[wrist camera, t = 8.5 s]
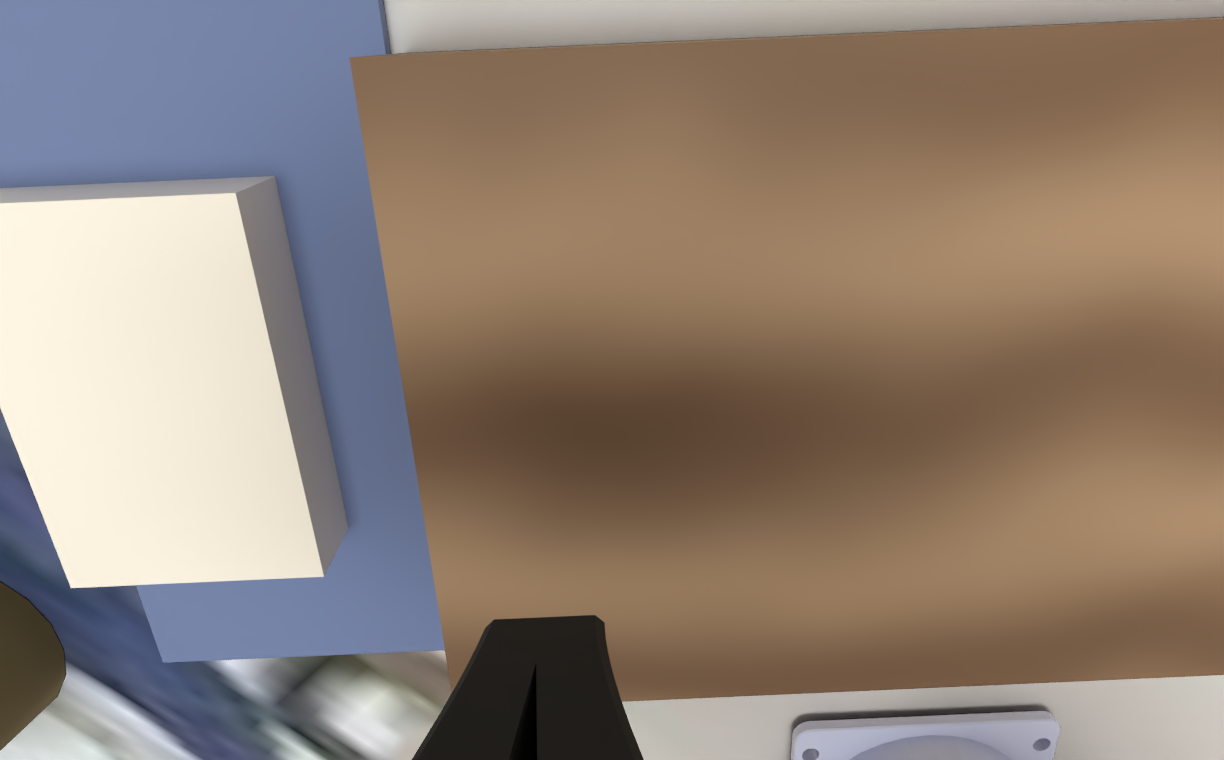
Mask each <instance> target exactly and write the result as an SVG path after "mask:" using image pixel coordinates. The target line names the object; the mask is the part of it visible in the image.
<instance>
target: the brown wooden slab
mask: <svg viewBox="0 0 1224 760" xmlns="http://www.w3.org/2000/svg"><path fill="white" fill-rule="evenodd" d="M349 58H350V65H351V71H352V77H353V83H354V89H355V96H356V102H357V108H358V114H359V120H360V127H361V133H362V139H363V145H364V151H365V158H366V164H367V170H368V176H369V182H370V189H371V195H372V201H373V207H374V213H375V219H376V226H377V232H378V238H379V244H380V250H381V257H382V263H383V269H384V275H385V281H386V288H387V294H388V300H389V306H390V312H391V319H392V325H393V331H394V337H395V343H396V349H397V356H398V362H399V368H400V374H401V380H402V387H403V393H404V399H405V405H406V411H407V418H408V424H409V430H410V436H411V442H412V449H413V455H414V461H415V467H416V473H417V480H418V486H419V492H420V498H421V504H422V510H423V517H424V523H425V529H426V535H427V541H428V548H429V554H430V560H431V566H432V572H433V579H434V585H435V591H436V597H437V603H438V610H439V616H440V622H441V628H442V634H443V640H444V647H445V653H446V659H447V665H448V671H449V678H450V684H451V690H452V692H453V690H454V688H455V686H456V685H457V683H458V681H459V679H460V677H461V676H462V674H463V672H464V670H465V668H466V666H467V664H468V662H469V660H470V658H471V656H472V654H473V652H474V650H475V648H476V646H477V644H478V642H479V640H480V638H481V636H482V634H483V632H484V629H485V627H486V626H488V625H489V624H490V623H491V622H492V621H493V620H494V619H516V618H538V617H560V616H582V615H596V616H597V617H598V618H600V619H601V620H602V621H603V622H605V637H606V643H607V649H608V654H609V659H610V663H611V667H612V671H613V675H614V678H615V682H616V685H617V688H618V691H619V695H620V698H621V701H644V700H666V699H689V698H711V697H734V696H757V695H779V694H802V693H824V692H847V691H869V690H892V689H914V688H937V687H959V686H982V685H1004V684H1027V683H1049V682H1072V681H1095V680H1117V679H1140V678H1162V677H1185V676H1207V675H1224V17H1213V18H1190V19H1167V20H1145V21H1122V22H1099V23H1076V24H1053V25H1031V26H1008V27H985V28H962V29H939V30H916V31H894V32H871V33H848V34H825V35H802V36H780V37H757V38H734V39H711V40H688V41H666V42H643V43H620V44H597V45H574V46H552V47H529V48H506V49H483V50H460V51H438V52H415V53H398V54H386V55H374V56H362V57H349Z"/></svg>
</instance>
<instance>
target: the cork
mask: <svg viewBox="0 0 1224 760" xmlns="http://www.w3.org/2000/svg"><path fill="white" fill-rule="evenodd" d="M65 676H66V670H65V659H64V650H63V648H62V646H61V644H60V642H59V640H58V638H57V636H56V634H55V632H54V630H53V628H52V626H51V624H50V623H49V622H48V621H47V620H46V619H45V618H44V617H43V616H42V614H41V613H40V612H39V611H38V610H37V609H36V608H35V607H34V606H33V605H32V604H31V603H30V602H29V601H28V600H27V599H26V598H24V597H23V596H21V595H20V594H18V593H17V592H15V591H13V590H12V589H10V588H9V587H7V586H6V585H4V584H3V583H1V582H0V750H1V749H2V748H4V747H5V746H6V745H7V744H8V743H9V742H10V741H11V740H12V739H13V738H14V737H15V736H16V735H17V734H18V733H19V732H21V731H22V730H23V729H24V728H25V727H26V726H27V725H28V724H29V723H30V722H31V721H32V720H33V719H34V718H35V717H36V716H37V715H39V714H40V713H41V712H42V711H43V710H44V709H45V708H46V707H47V706H48V705H49V704H50V703H51V702H52V701H53V700H54V699H56V698H57V697H58V694H59V692H60V689H61V686H62V684H63V681H64V679H65Z"/></svg>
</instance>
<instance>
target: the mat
mask: <svg viewBox="0 0 1224 760" xmlns="http://www.w3.org/2000/svg"><path fill="white" fill-rule="evenodd" d="M386 54H391V53H390V46H389V39H388V32H387V25H386V18H385V11H384V4H383V0H0V188H15V187H38V186H60V185H83V184H105V183H128V182H151V181H173V180H196V179H218V178H241V177H263V176H275V179H276V184H277V189H278V193H279V198H280V203H281V208H282V213H283V217H284V222H285V227H286V232H287V237H288V241H289V246H290V251H291V256H292V261H293V265H294V270H295V275H296V280H297V284H298V289H299V294H300V299H301V304H302V308H303V313H304V318H305V323H306V328H307V332H308V337H309V342H310V347H311V352H312V356H313V361H314V366H315V371H316V375H317V380H318V385H319V390H320V395H321V399H322V404H323V409H324V414H325V419H326V423H327V428H328V433H329V438H330V442H331V447H332V452H333V457H334V462H335V466H336V471H337V476H338V481H339V486H340V490H341V495H342V500H343V505H344V510H345V514H346V519H347V524H348V530H347V532H346V534H345V536H344V538H343V540H342V542H341V544H340V546H339V548H338V550H337V552H336V554H335V556H334V558H333V560H332V562H331V564H330V566H329V568H328V570H327V572H326V574H325V576H324V577H307V578H285V579H262V580H240V581H217V582H195V583H173V584H150V585H136V587H137V590H138V592H139V595H140V598H141V601H142V604H143V607H144V610H145V612H146V615H147V618H148V621H149V624H150V627H151V630H152V632H153V635H154V638H155V641H156V644H157V647H158V650H159V652H160V655H161V658H162V661H163V663H164V662H187V661H210V660H232V659H255V658H277V657H300V656H322V655H345V654H367V653H390V652H413V651H435V650H445V647H444V640H443V634H442V628H441V622H440V616H439V610H438V603H437V597H436V591H435V585H434V579H433V572H432V566H431V560H430V554H429V548H428V541H427V535H426V529H425V523H424V517H423V510H422V504H421V498H420V492H419V486H418V480H417V473H416V467H415V461H414V455H413V449H412V442H411V436H410V430H409V424H408V418H407V411H406V405H405V399H404V393H403V387H402V380H401V374H400V368H399V362H398V356H397V349H396V343H395V337H394V331H393V325H392V319H391V312H390V306H389V300H388V294H387V288H386V281H385V275H384V269H383V263H382V257H381V250H380V244H379V238H378V232H377V226H376V219H375V213H374V207H373V201H372V195H371V189H370V182H369V176H368V170H367V164H366V158H365V151H364V145H363V139H362V133H361V127H360V120H359V114H358V108H357V102H356V96H355V89H354V83H353V77H352V71H351V65H350V58H349V57H362V56H374V55H386Z"/></svg>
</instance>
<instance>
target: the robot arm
mask: <svg viewBox="0 0 1224 760" xmlns="http://www.w3.org/2000/svg"><path fill="white" fill-rule="evenodd" d="M1059 734H1060V724H1059V723H1058V721H1057V720H1056V719H1055V717H1054V716H1053V714H1051V713H1050V712H1047V711H1025V712H1003V713H980V714H958V715H935V716H913V717H890V718H868V719H845V720H823V721H807V722H803V723H801V724H799V725H798V726H797V727H796V728H795V729H794V731H793V734H792V747H791V760H1053V757H1054V754H1055V750H1056V746H1057V742H1058V738H1059ZM811 748H812V749H811ZM807 749H811V750H807ZM412 760H643V757H642V755H641V752H640V750H639V747H638V744H637V742H636V739H635V737H634V734H633V732H632V729H631V727H630V724H629V721H628V719H627V716H626V713H625V710H624V707H623V704H622V701H621V698H620V695H619V691H618V688H617V685H616V682H615V678H614V675H613V671H612V667H611V663H610V659H609V654H608V649H607V643H606V637H605V622H603V621H602V620H601V619H600V618H598V617H597V616H596V615H582V616H560V617H538V618H516V619H494V620H493V621H492V622H491V623H490V624H489V625H488V626H486V627H485V629H484V632H483V634H482V636H481V638H480V640H479V642H478V644H477V646H476V648H475V650H474V652H473V654H472V656H471V658H470V660H469V662H468V664H467V666H466V668H465V670H464V672H463V674H462V676H461V677H460V679H459V681H458V683H457V685H456V686H455V688H454V690H453V692H452V694H451V695H450V697H449V699H448V701H447V702H446V704H445V706H444V708H443V710H442V711H441V713H440V715H439V716H438V718H437V720H436V721H435V723H434V724H433V726H432V728H431V729H430V731H429V733H428V734H427V736H426V737H425V739H424V741H423V743H422V744H421V746H420V747H419V749H418V751H417V752H416V754H415V756H414V757H413V759H412Z"/></svg>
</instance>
